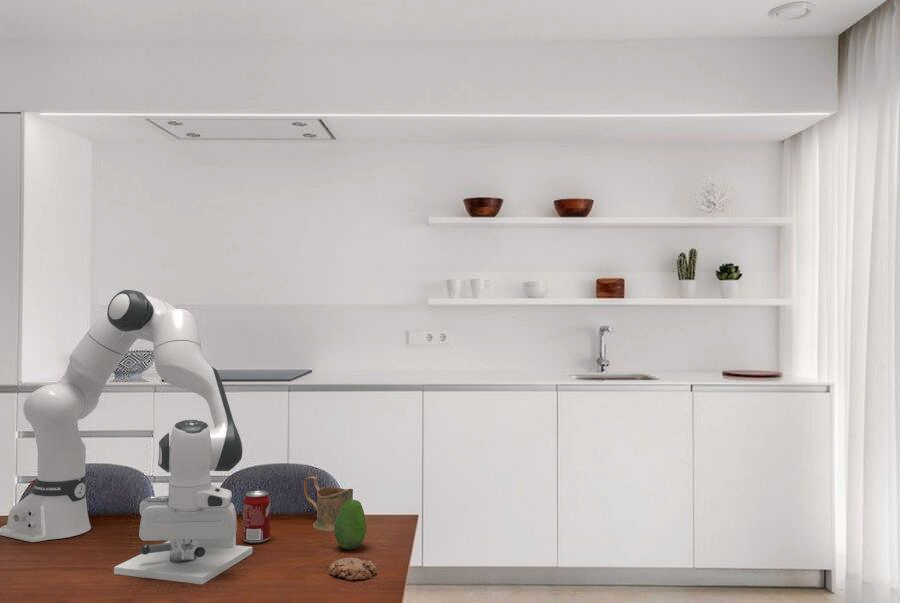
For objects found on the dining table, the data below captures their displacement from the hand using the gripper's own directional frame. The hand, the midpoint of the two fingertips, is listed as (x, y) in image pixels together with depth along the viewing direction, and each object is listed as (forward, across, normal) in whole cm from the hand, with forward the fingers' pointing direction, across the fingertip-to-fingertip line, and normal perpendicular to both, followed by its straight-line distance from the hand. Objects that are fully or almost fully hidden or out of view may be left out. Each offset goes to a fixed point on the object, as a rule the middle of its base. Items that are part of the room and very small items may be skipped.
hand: (188, 558), depth 160 cm
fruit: (+4, +36, +15) cm, 39 cm away
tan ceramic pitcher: (+4, +30, +37) cm, 47 cm away
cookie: (+4, +36, -3) cm, 36 cm away
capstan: (+2, -2, +5) cm, 5 cm away
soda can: (+4, +12, +24) cm, 27 cm away
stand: (+4, -2, +9) cm, 10 cm away
